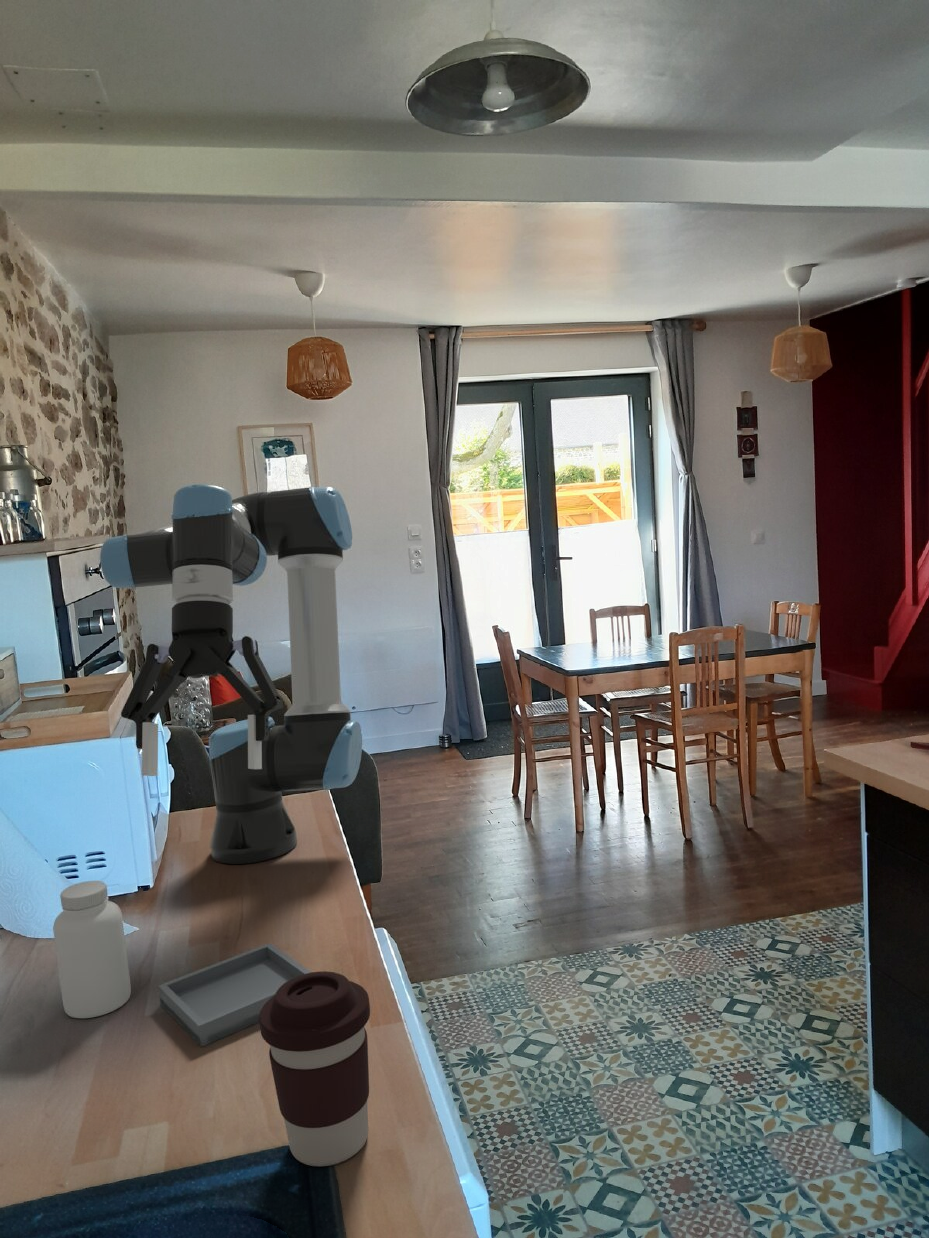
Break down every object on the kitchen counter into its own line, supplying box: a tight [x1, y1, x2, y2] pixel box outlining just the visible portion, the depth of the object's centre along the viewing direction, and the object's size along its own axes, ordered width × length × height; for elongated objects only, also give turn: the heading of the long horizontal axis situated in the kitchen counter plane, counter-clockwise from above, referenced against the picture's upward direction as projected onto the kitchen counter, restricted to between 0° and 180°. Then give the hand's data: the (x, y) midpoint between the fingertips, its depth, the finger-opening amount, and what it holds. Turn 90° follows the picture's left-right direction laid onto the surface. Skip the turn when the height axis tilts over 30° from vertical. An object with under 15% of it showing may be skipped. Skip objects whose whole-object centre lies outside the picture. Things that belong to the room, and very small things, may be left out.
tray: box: [157, 942, 312, 1048], centre depth 113 cm, size 15×13×2 cm
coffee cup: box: [258, 970, 371, 1167], centre depth 85 cm, size 10×10×15 cm
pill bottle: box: [52, 880, 132, 1019], centre depth 115 cm, size 8×8×15 cm
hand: (202, 772), depth 114 cm, fingers open, 13 cm apart
